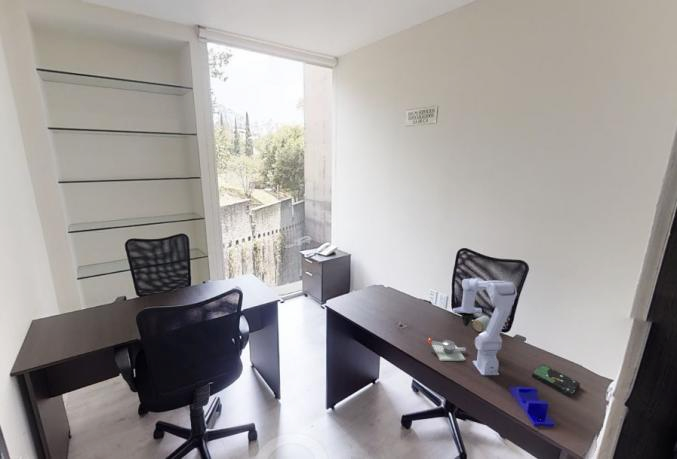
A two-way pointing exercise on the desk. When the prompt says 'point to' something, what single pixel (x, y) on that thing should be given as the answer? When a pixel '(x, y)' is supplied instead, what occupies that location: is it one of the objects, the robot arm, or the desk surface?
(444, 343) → the key lever
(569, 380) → the disk drive
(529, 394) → the mounting bracket
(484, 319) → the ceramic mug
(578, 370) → the desk surface
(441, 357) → the base
